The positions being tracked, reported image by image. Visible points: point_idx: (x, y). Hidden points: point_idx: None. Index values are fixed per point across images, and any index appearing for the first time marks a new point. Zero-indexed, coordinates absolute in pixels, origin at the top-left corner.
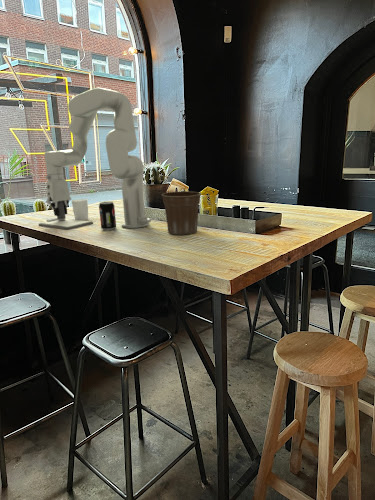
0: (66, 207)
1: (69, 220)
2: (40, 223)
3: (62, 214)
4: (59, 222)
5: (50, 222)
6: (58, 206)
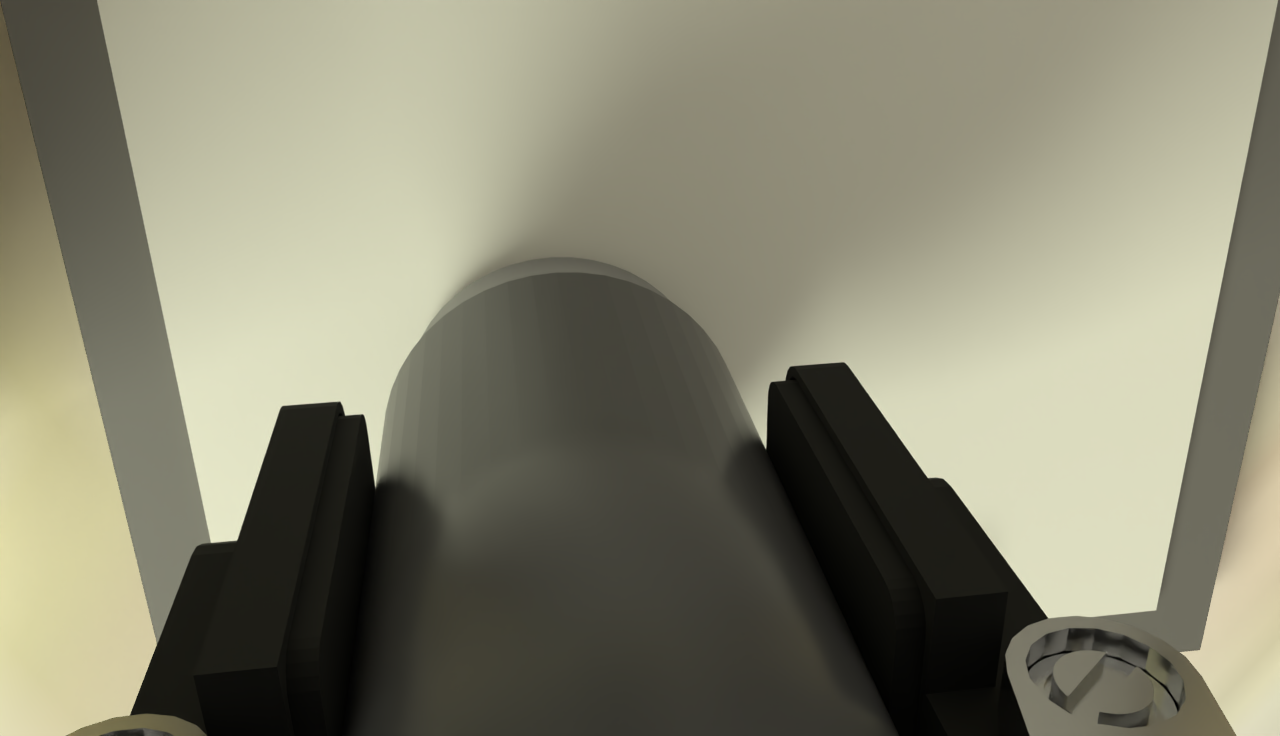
0: (212, 619)
1: (380, 84)
2: (1174, 615)
3: (630, 348)
4: (879, 101)
5: (1004, 426)
6: (875, 723)
